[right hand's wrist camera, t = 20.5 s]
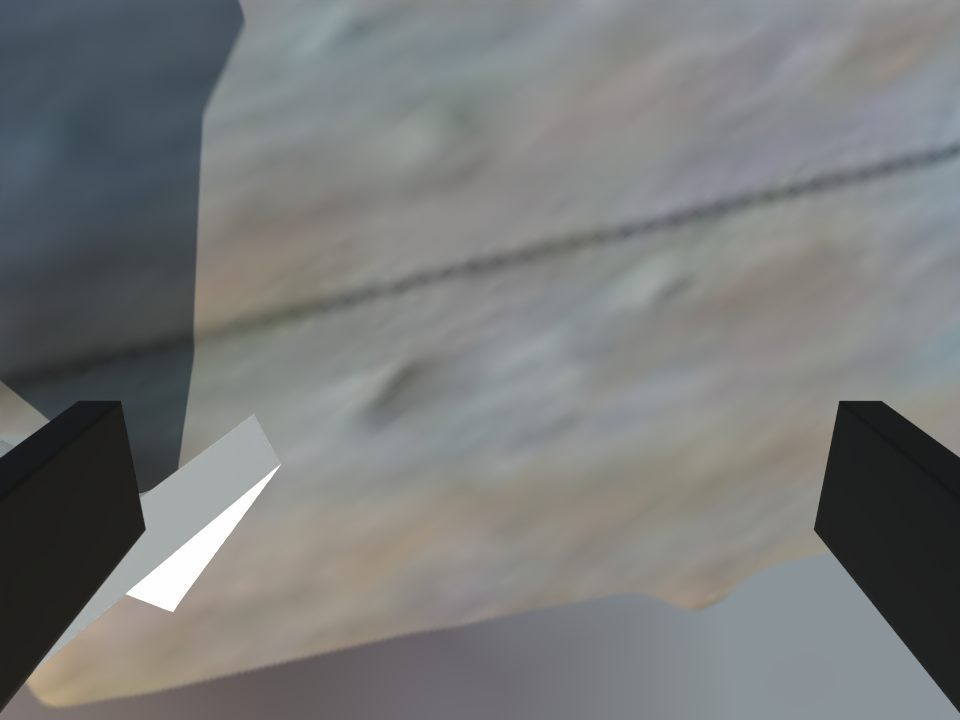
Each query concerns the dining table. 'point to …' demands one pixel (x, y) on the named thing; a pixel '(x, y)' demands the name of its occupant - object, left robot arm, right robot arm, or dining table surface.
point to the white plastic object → (184, 523)
